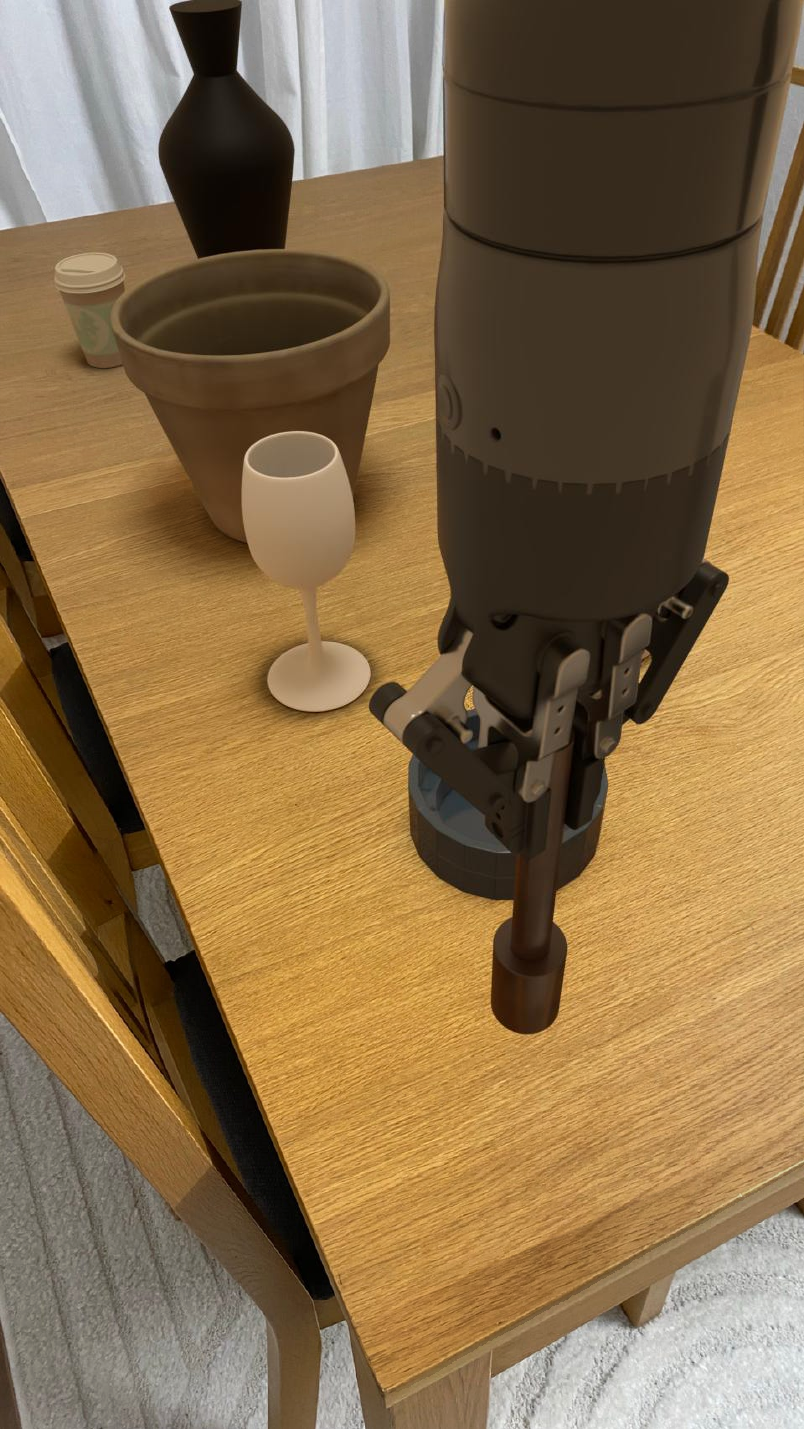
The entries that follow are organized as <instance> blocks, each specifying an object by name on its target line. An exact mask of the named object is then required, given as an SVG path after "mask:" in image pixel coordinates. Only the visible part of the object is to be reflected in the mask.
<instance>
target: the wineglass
mask: <svg viewBox="0 0 804 1429" xmlns="http://www.w3.org/2000/svg"><path fill="white" fill-rule="evenodd" d="M242 516H243V523H244V529H245V534H246V538H247V542H248V543H247V546H248V550H249V552H250V555H251V557H252V559H253V560H254V562H255V564H256V565H257V567H258V568H259V569H260V570H261V572H262V573H264V574H265V576H267V577H268V578H269V579H271V580H272V581H273V582H275V583H276V584H278V585H281V586H283V587H285V588H289V589H293V590H298V591H299V593H300V596H301V599H302V604H303V609H304V614H305V621H306V629H307V630H306V632H307V642H306V643H303V644H299V645H297V646H294V647H292V648H290V649H288V650H286V651H285V652H283V653H282V654H280V656H279V657H278V658H277V659H275V661H274V662H273V664H272V665H271V666H270V668H269V670H268V673H267V678H266V679H267V681H266V682H267V687H268V690H269V692H270V693H271V695H272V696H273V697H274V698H275V699H276V700H277V701H278V702H280V703H281V704H282V705H284V706H286V707H288V708H291V709H293V710H297V711H301V712H302V711H303V712H311V713H312V712H326V711H332V710H335V709H339V708H342V707H344V706H346V705H348V704H350V703H352V702H353V701H355V700H356V699H357V698H358V697H360V696H361V695H362V694H363V693H364V691H365V690H366V688H367V687H368V685H369V683H370V681H371V674H372V673H371V667H370V664H369V661H368V660H367V658H366V657H365V656H364V655H363V653H361V652H360V651H358V650H357V649H355V648H353V647H351V646H350V645H347V644H344V643H340V642H335V641H328V640H327V641H326V640H324V641H322V638H321V637H322V636H321V630H320V625H319V616H318V605H317V604H318V603H317V595H318V594H317V592H318V588H321V587H322V586H325V585H326V584H328V583H330V582H332V580H334V579H335V578H337V576H339V574H340V573H342V571H343V570H344V569H345V567H346V566H347V564H348V562H349V561H350V559H351V557H352V554H353V551H354V547H355V543H356V542H355V541H356V512H355V504H354V496H353V497H352V492H351V488H350V484H349V480H348V477H347V473H346V470H345V467H344V464H343V461H342V458H341V455H340V453H339V450H338V448H337V446H336V445H335V444H334V442H333V441H331V440H330V439H328V438H327V437H325V436H322V435H320V434H316V433H312V432H304V431H291V432H283V433H278V434H274V435H271V436H268V437H265V438H263V439H261V440H259V441H258V442H256V443H255V444H253V445H252V446H251V447H250V448H249V449H248V451H247V452H246V455H245V458H244V464H243V475H242Z"/></svg>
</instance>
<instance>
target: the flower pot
mask: <svg viewBox="0 0 804 1429" xmlns="http://www.w3.org/2000/svg"><path fill="white" fill-rule="evenodd" d="M390 294H391V293H390V288H389V285H388V283H387V281H386V280H385V278H384V277H383V275H381V274H380V273H379V272H378V271H377V270H376V269H374V268H372V267H371V266H370V265H367V264H366V263H364V262H362V261H359V260H356V259H353V258H351V257H348V256H344V255H339V254H335V253H331V252H326V251H320V250H319V251H318V250H310V249H297V248H285V249H266V250H250V251H240V252H232V253H225V254H219V255H214V256H209V257H204V258H200V259H198V258H196V259H192V260H188V261H185V262H181V263H178V264H175V265H172V266H168V267H166V268H163V269H160V270H158V271H157V272H154V273H151V274H150V275H147V276H146V277H144V278H143V279H140V280H139V281H137V282H135V283H134V284H133V285H131V286H129V287H128V288H127V289H125V292H124V293H123V294H122V295H121V296H120V297H119V298H118V299H117V300H116V302H115V303H114V305H113V307H112V310H111V313H110V325H111V328H112V331H113V335H114V338H115V341H116V344H117V347H118V351H119V354H120V357H121V361H122V368H123V370H124V372H125V375H126V377H127V378H128V380H129V381H130V382H131V383H132V385H133V386H135V387H136V388H137V389H138V390H139V391H140V392H142V393H144V395H145V397H146V399H147V401H148V403H149V405H150V407H151V409H152V411H153V413H154V415H155V417H156V419H157V420H158V423H159V424H160V426H161V429H162V430H163V432H164V434H165V435H166V438H167V439H168V441H169V444H170V446H171V447H172V449H173V451H174V453H175V455H176V456H177V458H178V461H179V463H180V464H181V466H182V468H183V470H184V472H185V474H186V476H187V478H188V480H189V482H190V483H191V486H192V487H193V489H194V491H195V493H196V495H197V497H198V499H199V501H200V503H201V504H202V506H203V509H204V510H205V512H206V514H207V515H208V517H209V518H210V520H211V521H212V523H213V525H214V526H215V527H216V529H217V530H219V531H220V532H221V533H223V534H224V535H226V536H227V537H229V538H231V539H233V540H237V541H238V542H243V543H245V544H248V542H247V538H246V534H245V529H244V523H243V516H242V475H243V464H244V458H245V455H246V452H247V451H248V449H249V448H250V447H251V446H252V445H253V444H255V443H256V442H258V441H259V440H261V439H263V438H265V437H268V436H271V435H274V434H278V433H283V432H291V431H304V432H312V433H316V434H320V435H322V436H325V437H327V438H328V439H330V440H331V441H333V442H334V444H335V445H336V446H337V448H338V450H339V453H340V455H341V458H342V461H343V464H344V467H345V470H346V473H347V477H348V480H349V484H350V488H351V492H352V497H353V498H354V495H355V490H356V486H357V480H358V476H359V472H360V466H361V462H362V461H361V460H362V456H363V451H364V446H365V442H366V441H365V440H366V435H367V430H368V425H369V420H370V415H371V409H372V404H373V399H374V394H375V388H376V383H377V376H378V372H379V365H380V364H381V362H382V361H383V360H384V358H386V355H387V353H388V351H389V347H390V344H391V296H390Z"/></svg>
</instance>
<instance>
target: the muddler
mask: <svg viewBox="0 0 804 1429" xmlns="http://www.w3.org/2000/svg"><path fill="white" fill-rule="evenodd" d="M574 739H575V735H574V732H573V729H572V728H571V734H570V739H569V743H568V745H567V746H565V747H563V748H562V749H560V750H558V751H556V752H555V757H554V763H553V770H552V776H551V782H550V785H549V788H550V789H551V799H550V809H549V819H548V828H547V838H546V848H545V850H544V851H543V852H542V853H540V854H538V855H537V856H535V857H534V858H532V859H531V860H525V859H524V858H523V857H521V856H520V855H519V854H518V853H517V854H516V869H515V884H514V899H513V900H512V915H511V917H509V918H507V919H506V920H504V921H503V922H502V923H501V924H500V925H499V926H498V927H497V929H496V930H495V933H494V936H493V941H492V959H491V981H490V1008H491V1011H492V1014H493V1016H494V1018H495V1020H496V1021H497V1022H498V1023H499V1024H500V1025H501V1026H503V1027H504V1028H505V1029H507V1030H508V1031H511V1032H513V1033H516V1034H520V1035H535V1034H539V1033H542V1032H543V1031H545V1030H547V1029H548V1028H549V1027H551V1026H552V1025H553V1024H554V1023H555V1021H556V1020H557V1019H558V1018H557V1017H558V1015H559V1013H560V1012H559V1011H560V1006H561V1000H562V990H563V984H564V976H565V970H566V964H567V957H568V955H567V954H568V940H567V938H566V936H565V934H564V931H562V929H561V928H560V926H559V925H558V924H556V922H554V917H555V909H556V908H555V907H556V899H557V892H558V891H557V883H558V875H559V866H560V858H561V849H562V841H563V833H564V824H565V816H566V807H567V799H568V790H569V782H570V773H571V765H572V756H573V748H574Z"/></svg>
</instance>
